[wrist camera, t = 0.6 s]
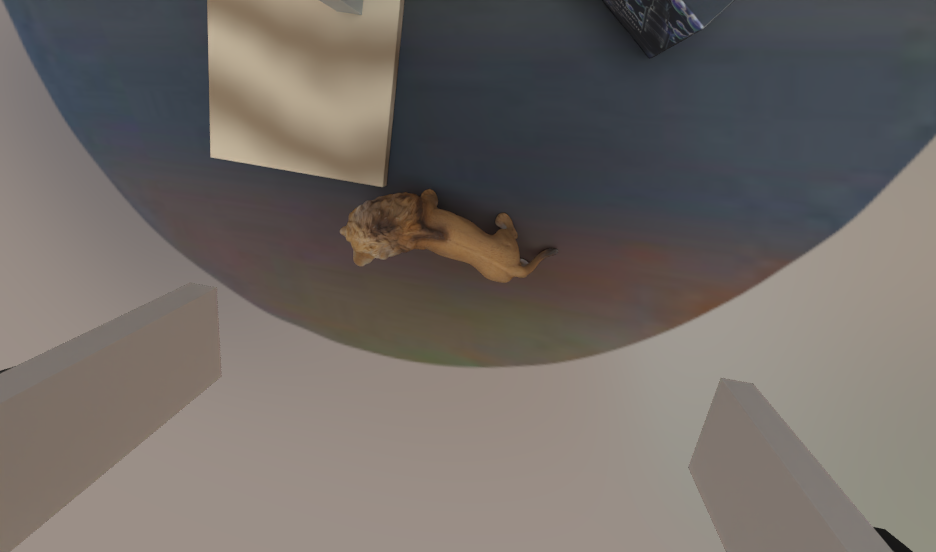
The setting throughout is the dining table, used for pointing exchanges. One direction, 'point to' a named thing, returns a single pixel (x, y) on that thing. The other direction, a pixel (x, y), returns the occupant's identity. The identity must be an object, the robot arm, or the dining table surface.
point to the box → (664, 20)
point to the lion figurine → (435, 235)
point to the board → (304, 86)
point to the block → (345, 5)
